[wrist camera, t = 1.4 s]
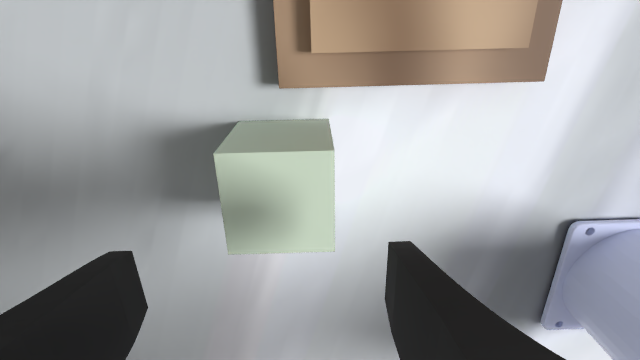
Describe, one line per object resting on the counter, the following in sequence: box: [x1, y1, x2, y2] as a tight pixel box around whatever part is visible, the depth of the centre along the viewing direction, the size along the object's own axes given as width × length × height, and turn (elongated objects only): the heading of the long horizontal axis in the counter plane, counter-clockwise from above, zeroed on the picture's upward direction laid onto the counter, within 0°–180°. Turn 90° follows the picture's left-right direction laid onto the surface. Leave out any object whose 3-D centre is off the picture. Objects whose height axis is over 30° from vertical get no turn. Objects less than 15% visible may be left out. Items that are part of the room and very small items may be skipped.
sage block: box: [213, 119, 335, 255], centre depth 16 cm, size 4×4×5 cm
